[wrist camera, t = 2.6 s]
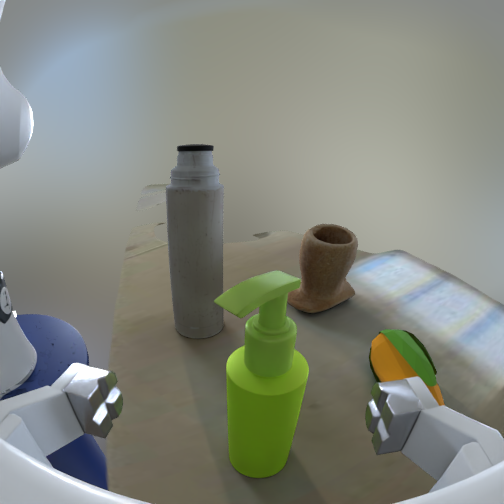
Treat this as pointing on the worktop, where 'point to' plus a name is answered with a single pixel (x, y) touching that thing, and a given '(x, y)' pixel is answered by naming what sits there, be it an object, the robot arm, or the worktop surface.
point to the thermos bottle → (195, 241)
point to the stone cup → (324, 268)
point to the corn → (403, 360)
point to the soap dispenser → (263, 376)
